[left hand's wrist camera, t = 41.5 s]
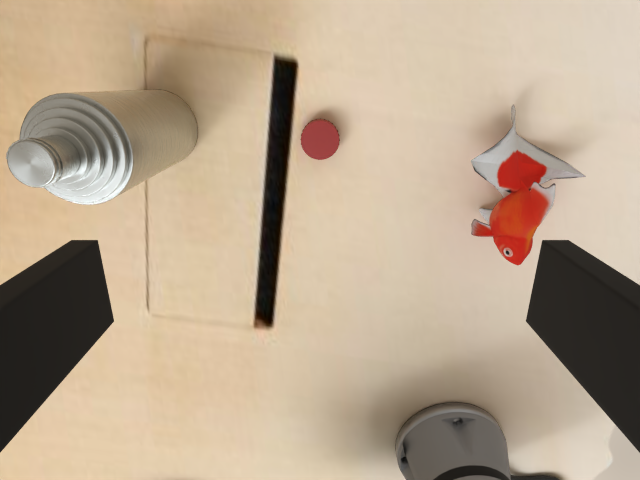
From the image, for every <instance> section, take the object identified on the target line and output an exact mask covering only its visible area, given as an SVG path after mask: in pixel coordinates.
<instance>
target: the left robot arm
mask: <svg viewBox="0 0 640 480" xmlns="http://www.w3.org/2000/svg"><path fill="white" fill-rule="evenodd" d="M113 322H114V319H113V314H112V309H111V304H110V299H109V294H108V289H107V284H106V279H105V274H104V269H103V264H102V259H101V255H100V250H99V245H98V240H71V241H70V242H68V243H66V244H65V245H63V246H62V247H60V248H59V249H57V250H55V251H54V252H52V253H51V254H49V255H47V256H46V257H44V258H43V259H41V260H40V261H38V262H36V263H35V264H33V265H32V266H30V267H28V268H27V269H25V270H24V271H22V272H21V273H19V274H17V275H16V276H14V277H13V278H11V279H9V280H8V281H6V282H5V283H3V284H2V285H0V452H1V451H2V450H3V449H4V448H5V446H6V445H7V444H8V443H9V442H10V441H11V440H12V438H13V437H14V436H15V435H16V434H17V433H18V431H19V430H20V429H21V428H22V427H23V426H24V424H25V423H26V422H27V421H28V420H29V419H30V418H31V416H32V415H33V414H34V413H35V412H36V411H37V409H38V408H39V407H40V406H41V405H42V404H43V403H44V401H45V400H46V399H47V398H48V397H49V396H50V394H51V393H52V392H53V391H54V390H55V389H56V388H57V386H58V385H59V384H60V383H61V382H62V381H63V379H64V378H65V377H66V376H67V375H68V374H69V373H70V371H71V370H72V369H73V368H74V367H75V366H76V364H77V363H78V362H79V361H80V360H81V359H82V358H83V356H84V355H85V354H86V353H87V352H88V351H89V349H90V348H91V347H92V346H93V345H94V344H95V343H96V341H97V340H98V339H99V338H100V337H101V336H102V334H103V333H104V332H105V331H106V330H107V329H108V328H109V326H110V325H111V324H112V323H113ZM526 322H527V323H528V324H529V325H530V326H531V328H532V329H533V330H534V331H535V332H536V333H537V334H538V336H539V337H540V338H541V339H542V340H543V341H544V343H545V344H546V345H547V346H548V347H549V348H550V349H551V351H552V352H553V353H554V354H555V355H556V356H557V358H558V359H559V360H560V361H561V362H562V363H563V364H564V366H565V367H566V368H567V369H568V370H569V371H570V373H571V374H572V375H573V376H574V377H575V378H576V379H577V381H578V382H579V383H580V384H581V385H582V386H583V388H584V389H585V390H586V391H587V392H588V393H589V394H590V396H591V397H592V398H593V399H594V400H595V401H596V403H597V404H598V405H599V406H600V407H601V408H602V409H603V411H604V412H605V413H606V414H607V415H608V416H609V418H610V419H611V420H612V421H613V422H614V423H615V424H616V426H617V427H618V428H619V429H620V430H621V431H622V433H623V434H624V435H625V436H626V437H627V438H628V440H629V441H630V442H631V443H632V444H633V445H634V446H635V448H636V449H637V450H638V451H639V452H640V285H638V284H637V283H635V282H634V281H632V280H631V279H629V278H627V277H626V276H624V275H623V274H621V273H619V272H618V271H616V270H615V269H613V268H612V267H610V266H608V265H607V264H605V263H604V262H602V261H600V260H599V259H597V258H596V257H594V256H593V255H591V254H589V253H588V252H586V251H585V250H583V249H581V248H580V247H578V246H577V245H575V244H574V243H572V242H570V241H569V240H542V245H541V250H540V255H539V259H538V264H537V269H536V274H535V279H534V284H533V289H532V294H531V299H530V304H529V309H528V314H527V319H526ZM395 447H396V455H397V460H398V465H399V468H400V470H401V472H402V474H403V475H404V477H405V479H406V480H559V479H558V478H555V477H552V476H531V477H519V476H513V475H510V469H509V460H508V452H507V444H506V439H505V437H504V434H503V432H502V430H501V429H500V427H499V425H498V423H497V421H496V420H495V419H494V418H493V417H492V416H491V415H490V414H489V413H488V412H486V411H485V410H483V409H481V408H479V407H477V406H474V405H470V404H465V403H443V404H438V405H434V406H431V407H428V408H426V409H424V410H422V411H420V412H418V413H417V414H415V415H414V416H412V417H411V418H410V419H409V420H408V421H407V422H406V423H405V424H404V425H403V427H402V428H401V430H400V432H399V434H398V436H397V439H396V445H395Z"/></svg>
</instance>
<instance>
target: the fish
mask: <svg viewBox="0 0 640 480" xmlns="http://www.w3.org/2000/svg"><path fill="white" fill-rule="evenodd" d="M511 120H512V123H513V126H512V128H511V129H510V131H509V132H508V133H507V134H506V136H505V137H504V138H503V139H502V140H500V141H499V142H498V143H497V144H496V145H495V146H493V147H492V148H490V149H489V150H487V151H485V152H484V153H482V154H481V155H479V156H477V157H476V158H474V159H473V160H471V162H472V165H473V167H474V170H475V171H476V172H477V173H478V174H479V175H481V176H482V177H483V178H484V179H486V180H487V181H488V182H490V183H491V184H493V185H494V186H495V187H496V188H497V190H498V191H499V192H500V193H501V195H502V196H503V199H502V200H500V201H499V202H498V203H497V204H496V206H495V207H494V209H493V210H492V209H483V208H480V209H479V212H480V213H481V215H482V216H483V217H484V218H485V220H486V221H487V222H488V223H489V225H487V224H484V223H481V222H479V221H478V220H476V219H474V220H473V222H472V235H474V236H480V237H493V238H494V242H495V244H496V246H497V248H498V249H499V251H500V253H501V254H502V256H503V257H504V258H505V259H507V260H508V261H509V262H511V263H513V264H516V265H520V264H521V263H522V262H523V261H524V259H525V258H526V257H527V255H528V254H529V253H530V251H531V248H532V242H533V239H532V237H533V235H534V233H535V231H536V229H537V227H538V226H539V225H540V224H541V222H542V221H543V220H544V218H545V217H546V215H547V214H548V212H549V211H550V209H551V207H552V206H553V202H554V197H555V184H552V185H551V186H550V187H548V188H544V187H542V186H541V185H540V184H542V183H545V182H547V181H549V180H551V179H560V178H577V177H586V176H585V175H583V174H582V173H580V172H579V171H578V170H576V169H575V168H573V167H572V166H571V165H569V164H568V163H566V162H564V161H563V160H561V159H559V158H557V157H555V156H553V155H551V154H549V153H547V152H546V151H544V150H542V149H540V148H538V147H536V146H535V145H533V144H531V143H529V142H528V141H526V140H525V139H523V138H522V137H520V136H519V135H517V133H516V126H515V107H514V105H513V106H512V109H511Z"/></svg>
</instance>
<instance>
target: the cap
mask: <svg viewBox="0 0 640 480" xmlns="http://www.w3.org/2000/svg"><path fill="white" fill-rule="evenodd" d="M302 132H303V133H302V134H301V145H302V147H303V150H304V151H305V153H306V154H307V155H308V156H310V157H311V158H314V159H318V160H322V159H327V158H329V157H331V156H332V155H333V154H334V153H335V152H336V150H337V149H338V145H339V141H340V140H339V134H338V130H336V127H335V126H334V125H333V123H330V122H329V121H327V120H325V119H324V120H323V119H316V120H314V121H311V122H310V123H308V124H307V126H305V128H304V129H303V131H302Z"/></svg>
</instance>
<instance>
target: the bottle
mask: <svg viewBox="0 0 640 480" xmlns="http://www.w3.org/2000/svg"><path fill="white" fill-rule="evenodd" d="M197 136H198V127H197V122H196V119H195V116H194V114H193V112H192V110H191V109H190V107H189V106H188V105H187V104H186V103H185V102H184V101H183V100H182V99H181V98H180V97H178V96H177V95H175V94H173V93H171V92H168V91H164V90H131V91H104V92H77V93H59V94H54V95H50V96H48V97H45V98H43V99H41V100H40V101H38V102H37V103H36V104H35V105H34V106H33V107H32V108H31V109H30V110H29V112H28V113H27V115H26V117H25V119H24V121H23V124H22V127H21V132H20V140H18V141H16V142H14V143H13V144H12V145H11V146H10V147H9V149H8V152H7V156H6V159H7V162H8V166H9V169H10V171H11V172H12V174H13V175H14V177H15V178H16V179H17V180H19V181H20V182H21V183H23V184H25V185H27V186H31V187H40V188H43V187H44V188H45V189H46V190H48V191H49V192H51V193H52V194H54V195H56V196H58V197H60V198H62V199H64V200H67V201H69V202H73V203H77V204H83V205H93V204H100V203H104V202H106V201H109V200H111V199H113V198H114V197H116V196H118V195H120V194H122V193H123V192H125V191H127V190H129V189H131V188H132V187H134V186H136V185H138V184H140V183H141V182H143V181H145V180H147V179H149V178H150V177H152V176H154V175H156V174H158V173H159V172H161V171H163V170H165V169H167V168H168V167H170V166H172V165H174V164H176V163H177V162H179V161H181V160H183V159H184V158H186V157H187V156H188V155H189V154H190V153H191V152H192V150H193V148H194V147H195V144H196V141H197Z"/></svg>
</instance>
